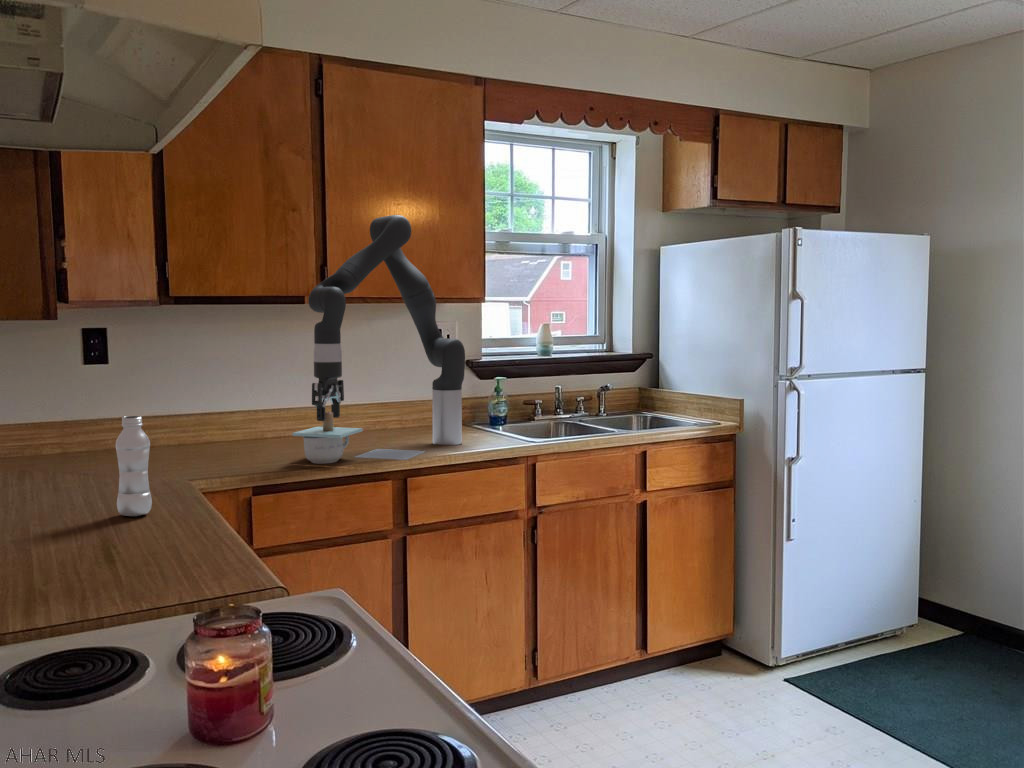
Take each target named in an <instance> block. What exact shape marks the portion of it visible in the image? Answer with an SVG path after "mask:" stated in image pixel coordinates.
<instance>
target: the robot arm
mask: <svg viewBox="0 0 1024 768" xmlns="http://www.w3.org/2000/svg"><path fill="white" fill-rule="evenodd" d="M369 234H370V238H371V241H372V242H371V243H370V244H368V245H367V246H365V247H364V248H362V249H361V250H358V252H355V254H353V255H351V257H349V258H348V259H346V260H345V262H344V263H343V264H341V265H340V266H339V268H338V269H337V270H336V271H335V272H334V273H333V274H331V275H330V276H327V278H325V279H323V280H322V281H321V282H319V283H318V284H317V285H316V286H314V288H313V289H312V290H311V291H310V293H309V295H308V299H307V301H308V306H309V308H310V309H311V310H312V311H314V312H316V313H318V314H319V313H321V314H322V313H323V316H322V318H321V319H322V320H321V321H319V322H317V323H315V325H314V327H313V331H314V334H313V337H314V339H313V340H314V341H313V342H314V345H313V377H314V378H316V379H318V382H312V384H311V405H312V406H314V407H315V408H316V420H317V421H318V422H323V421H325V412H326V404H327V401H330V402H331V407H330V408H331V411H330V412H333V419H334V418H340V417H341V412H340V411H341V409H340V407H341V406H340V404H341V403H342V402H344V400H345V391H344V390H345V389H344V388H345V387H344V380H343V379H340V378H342V376H343V362H342V361H343V356H342V355H343V353H342V352H343V351H342V345H341V343H342V342H341V337H342V336H341V328H342V324H343V321H344V316H345V312H346V306H347V305H346V304H347V302H346V301H347V299H346V296H345V295H346V294H351V293H352V292H353V291H354V290H356V289H357V287H358V286H360V284H361V283H362V282H363V281H364V280H365V279H366V278H367V277H368V276H369V274H370V273H372V272H373V271H374V270H375V269H376V268H377V267H378V266H379V265H380V264H381V263H382V262H383V261H384V263H385V265H386V268H387V269H388V271H389V273H390V275H391V278H392V279H393V281H394V283H395V285H396V286H397V289H398V292H399V294H400V295H401V299H402V301H403V302H404V305H405V306H406V308H407V310H408V312H409V314H410V316H411V318H412V321H413V324H414V325H415V327H416V330H417V332H418V335H419V338H420V340H421V343H422V346H423V348H424V349H423V350H424V353H425V354H426V355H425V356H426V357H427V359H428V361H429V363H430V364H431V365H433V366H434V367H436V368H437V367H438V368H441V373H440V375H439V376H438V377H437V378H435V379H434V380H433V381H432V383H431V385H432V387H431V388H432V390H431V391H432V392H431V393H432V398H431V399H432V444H433V445H440V446H441V445H443V446H452V445H453V446H455V445H456V446H457V445H462V443H463V441H462V440H463V439H462V438H463V437H462V436H463V435H462V433H463V432H462V431H463V429H462V428H463V425H462V424H463V422H462V421H463V417H462V415H463V410H462V409H463V403H462V401H463V400H462V399H463V398H462V397H463V395H462V394H463V393H462V390H463V389H462V388H463V382H464V379H465V368H466V366H465V365H466V350H465V347H464V344H463V342H462V341H461V340H459V339H457V338H450V337H449V338H445V337H444V336H443V335H442V333H441V332H440V329H439V327H438V325H437V321H436V311H437V300H436V297H435V293H434V291H433V289H432V287H431V285H430V282H429V280H428V278H427V277H426V276H425V275H424V274H423V273H422V272H421V271H420V270H419V269H418V268H417V267H416V266H415V265H414V264H412V262H410V260H409V259H408V258H407V257H406V255H405V254H404V252H403V250H402V247H404V245H406V244H407V243H408V242H409V241H410V239H411V237H412V225H411V223H410V221H409V220H408V218H407V217H405V216H404V215H400V214H392V215H386V216H379V217H376V218H374V219H372V221H371V223H370V225H369Z"/></svg>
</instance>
